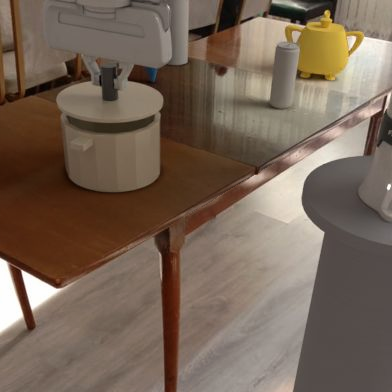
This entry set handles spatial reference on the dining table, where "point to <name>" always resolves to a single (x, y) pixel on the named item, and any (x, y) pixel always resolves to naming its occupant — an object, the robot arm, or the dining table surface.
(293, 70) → the beverage can
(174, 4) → the bottle
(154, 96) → the lid
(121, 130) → the pot
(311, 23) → the yellow sugar bowl
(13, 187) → the dining table surface
